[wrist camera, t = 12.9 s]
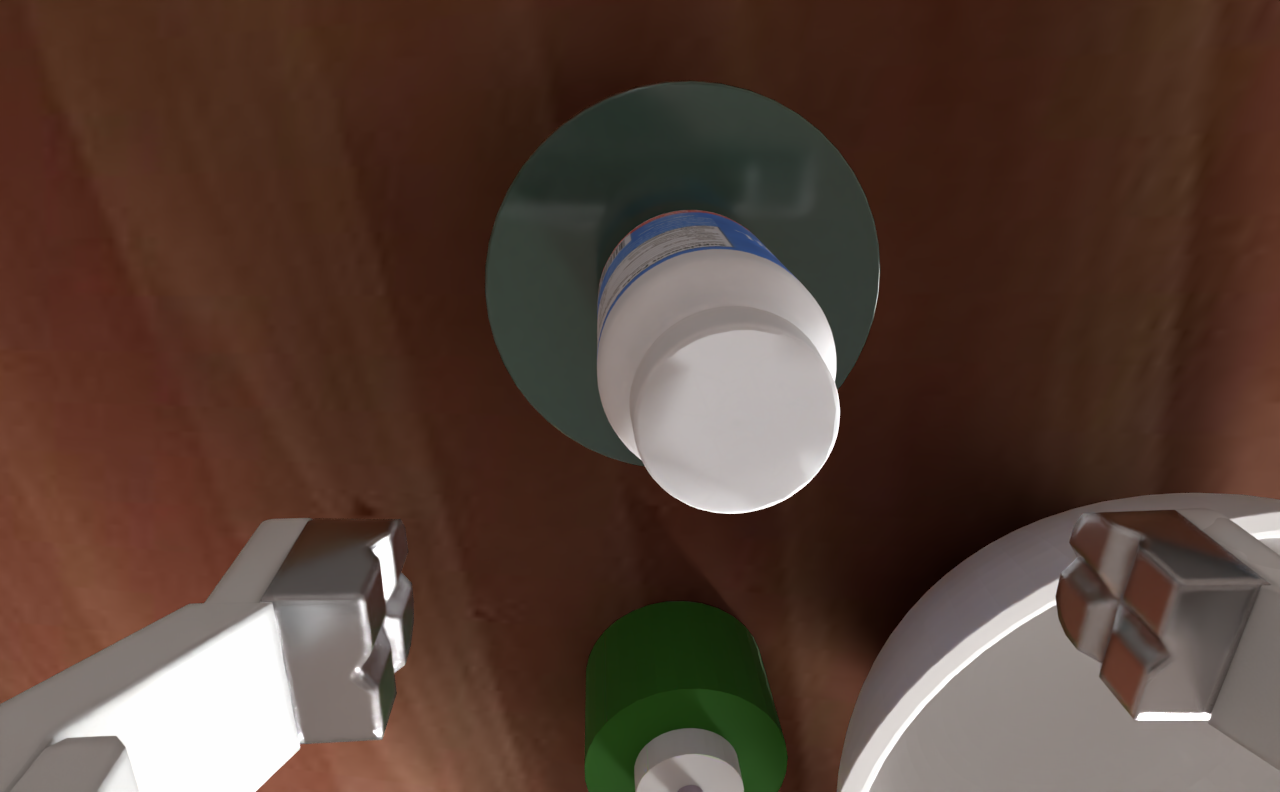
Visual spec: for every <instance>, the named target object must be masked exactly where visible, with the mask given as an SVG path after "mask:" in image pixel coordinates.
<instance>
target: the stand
mask: <svg viewBox="0 0 1280 792" xmlns="http://www.w3.org/2000/svg"><path fill="white" fill-rule="evenodd" d="M680 210H701V211H708V212H713V213H717V214H720V215H722V216H725V217H727V218H729V219H731V220H733V221H735V222H737V223H738V224H740V225H742V226H743V227H745V228H746V229H747V230H749V231H750V232H751V233H752V234H753V235H755V236H756V237H757V238H758V239H759V240H760V241H761V243H762V244H763V245H764V246H765V247H766V248H767V249H768V250H769V251H770V252H771V253H772V254H773V255H774V256H775V257H776V258H777V259H778V260H779V261H780V262H781V263H782V264H783V265H784V266H785V267H786V268H787V269H788V270H789V271H790V272H791V273H792V274H793V275H794V276H795V277H796V278H797V279H798V280H799V281H800V282H801V284H802V285H803V286H804V287H805V288H806V289H807V290H808V291H809V292H810V294H811V295H812V296H813V298H814V299H815V300H816V302H817V303H818V304H819V306H820V307H821V309H822V311H823V313H824V315H825V316H826V319H827V321H828V323H829V326H830V329H831V332H832V335H833V339H834V344H835V350H836V378H835V384H836V388H837V390H838V389H839V388H840V387H841V385H842V384H843V382H844V381H845V379H846V378H847V376H848V375H849V373H850V371H851V370H852V368H853V367H854V365H855V363H856V361H857V359H858V357H859V355H860V353H861V351H862V349H863V347H864V345H865V343H866V340H867V337H868V334H869V331H870V328H871V325H872V322H873V319H874V315H875V310H876V305H877V300H878V295H879V282H880V254H879V242H878V237H877V232H876V227H875V222H874V218H873V215H872V212H871V209H870V206H869V203H868V201H867V198H866V195H865V193H864V191H863V189H862V187H861V185H860V183H859V181H858V179H857V177H856V175H855V173H854V171H853V170H852V169H851V167H850V166H849V164H848V163H847V162H846V160H845V159H844V157H843V156H842V154H841V153H840V152H839V150H838V149H837V148H836V147H835V146H834V145H833V144H832V143H831V142H830V141H829V140H828V139H827V138H826V136H825V135H824V134H823V133H822V132H821V131H820V130H819V129H817V128H816V127H815V126H813V125H812V124H811V123H810V122H808V121H807V120H806V119H805V118H803V117H802V116H801V115H799V114H798V113H796V112H795V111H793V110H791V109H789V108H788V107H786V106H784V105H782V104H781V103H779V102H777V101H775V100H773V99H771V98H768V97H766V96H763V95H761V94H758V93H756V92H753V91H751V90H747V89H743V88H739V87H735V86H731V85H727V84H722V83H716V82H705V81H695V80H681V81H662V82H657V83H651V84H646V85H641V86H636V87H633V88H630V89H627V90H624V91H621V92H618V93H615V94H612V95H609V96H607V97H605V98H603V99H601V100H599V101H597V102H595V103H593V104H591V105H589V106H587V107H585V108H584V109H582V110H581V111H579V112H578V113H577V114H575V115H574V116H572V117H571V118H569V119H568V120H566V121H565V122H563V123H562V124H561V125H560V126H559V127H558V128H557V129H556V130H554V131H553V132H552V133H551V134H550V135H549V136H548V137H547V138H546V139H545V140H544V141H542V143H541V144H540V145H539V146H538V147H537V149H536V150H535V151H534V152H533V153H532V155H531V156H530V157H529V158H528V159H527V161H526V162H525V163H524V165H523V166H522V168H521V169H520V171H519V172H518V174H517V176H516V177H515V179H514V180H513V182H512V184H511V185H510V187H509V188H508V190H507V192H506V195H505V197H504V199H503V201H502V204H501V206H500V208H499V210H498V212H497V215H496V218H495V222H494V225H493V228H492V232H491V235H490V239H489V244H488V251H487V257H486V264H485V297H486V305H487V314H488V319H489V323H490V327H491V331H492V335H493V338H494V342H495V344H496V347H497V349H498V352H499V354H500V356H501V359H502V361H503V364H504V365H505V367H506V369H507V371H508V372H509V374H510V376H511V378H512V379H513V381H514V383H515V385H516V386H517V387H518V389H519V390H520V391H521V393H522V394H523V395H524V396H525V398H526V399H527V400H528V402H529V403H530V404H531V405H532V406H533V407H534V408H535V409H536V410H537V411H538V412H539V413H540V414H541V415H542V416H543V417H544V418H545V419H546V420H547V421H548V422H549V423H550V424H552V425H553V426H554V427H555V428H557V429H558V430H559V431H561V432H562V433H563V434H564V435H566V436H567V437H569V438H571V439H572V440H574V441H576V442H578V443H579V444H581V445H583V446H584V447H586V448H588V449H590V450H593V451H595V452H597V453H599V454H602V455H604V456H606V457H609V458H612V459H616V460H619V461H622V462H626V463H629V464H633V465H639V466H644V464H643V462H642V460H640V459H639V458H638V457H637V456H636V455H635V454H634V453H632V452H631V451H630V450H629V449H628V448H627V447H626V445H625V444H624V443H623V442H622V441H621V439H620V438H619V437H618V435H617V434H616V432H615V431H614V429H613V428H612V426H611V424H610V422H609V421H608V418H607V416H606V414H605V411H604V409H603V406H602V402H601V398H600V394H599V389H598V381H597V300H598V290H599V283H600V279H601V275H602V272H603V269H604V267H605V265H606V263H607V261H608V259H609V257H610V255H611V254H612V252H613V250H614V249H615V248H616V246H617V245H618V244H619V242H620V241H621V240H622V239H623V238H624V237H625V236H626V235H627V234H628V233H629V232H630V231H632V230H633V229H634V228H636V227H637V226H638V225H640V224H642V223H643V222H645V221H647V220H649V219H651V218H653V217H656V216H658V215H661V214H665V213H669V212H673V211H680Z"/></svg>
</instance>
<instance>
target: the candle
mask: <svg viewBox="0 0 1280 792" xmlns="http://www.w3.org/2000/svg"><path fill="white" fill-rule="evenodd" d="M787 759H788V756H787V750H786V744H785V740H784V736H783V733H782V729H781V725H780V722H779V718H778V715H777V711H776V708H775V704H774V700H773V697H772V693H771V690H770V686H769V683H768V679H767V675H766V672H765V668H764V665H763V661H762V658H761V654H760V650H759V648H758V646H757V644H756V642H755V639H754V637H753V636H752V635H751V633H750V632H749V631H748V629H747V628H746V627H745V626H744V625H743V624H742V623H741V622H739V621H738V620H737V619H736V618H735V617H733V616H732V615H730V614H728V613H726V612H724V611H722V610H721V609H719V608H716V607H713V606H709V605H706V604H703V603H697V602H689V601H667V602H662V603H657V604H651V605H648V606H645V607H642V608H640V609H637V610H634V611H632V612H630V613H628V614H627V615H625V616H623V617H622V618H620V619H618V620H617V621H616V622H614V623H613V624H612V625H611V626H610V627H609V628H608V629H606V630H605V631H604V633H603V634H602V635H601V636H600V638H599V639H598V640H597V642H596V643H595V645H594V647H593V649H592V651H591V653H590V655H589V659H588V663H587V668H586V707H585V782H586V785H587V788H588V791H589V792H778V791H779V789H780V787H781V785H782V783H783V780H784V777H785V774H786V770H787Z"/></svg>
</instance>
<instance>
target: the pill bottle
mask: <svg viewBox="0 0 1280 792" xmlns="http://www.w3.org/2000/svg"><path fill="white" fill-rule="evenodd" d="M835 378H836V350H835V344H834V339H833V335H832V332H831V329H830V326H829V323H828V321H827V319H826V316H825V315H824V313H823V311H822V309H821V307H820V306H819V304H818V303H817V302H816V300H815V299H814V298H813V296H812V295H811V294H810V292H809V291H808V290H807V289H806V288H805V287H804V286H803V285H802V284H801V282H800V281H799V280H798V279H797V278H796V277H795V276H794V275H793V274H792V273H791V272H790V271H789V270H788V269H787V268H786V267H785V266H784V265H783V264H782V263H781V262H780V261H779V260H778V259H777V258H776V257H775V256H774V255H773V254H772V253H771V252H770V251H769V250H768V249H767V248H766V247H765V246H764V245H763V244H762V243H761V241H760V240H759V239H758V238H757V237H756V236H755V235H753V234H752V233H751V232H750V231H749V230H747V229H746V228H745V227H743V226H742V225H740V224H738V223H737V222H735V221H733V220H731V219H729V218H727V217H725V216H722V215H720V214H717V213H713V212H708V211H701V210H680V211H673V212H669V213H665V214H661V215H658V216H656V217H653V218H651V219H649V220H647V221H645V222H643V223H642V224H640V225H638V226H637V227H636V228H634V229H633V230H632V231H630V232H629V233H628V234H627V235H626V236H625V237H624V238H623V239H622V240H621V241H620V242H619V244H618V245H617V246H616V248H615V249H614V250H613V252H612V254H611V255H610V257H609V259H608V261H607V263H606V265H605V267H604V269H603V272H602V275H601V279H600V283H599V290H598V300H597V381H598V389H599V394H600V398H601V402H602V406H603V409H604V411H605V414H606V416H607V418H608V421H609V422H610V424H611V426H612V428H613V429H614V431H615V432H616V434H617V435H618V437H619V438H620V439H621V441H622V442H623V443H624V444H625V445H626V447H627V448H628V449H629V450H630V451H631V452H632V453H634V454H635V455H636V456H637V457H638V458H639V459H640V460H642V462H643V464H644V466H645V467H646V469H647V471H648V472H649V474H650V475H651V476H652V478H653V479H654V480H655V481H656V482H657V483H658V484H659V485H660V486H661V487H662V488H663V489H664V490H665V491H666V492H667V493H669V494H670V495H671V496H673V497H674V498H676V499H678V500H680V501H682V502H683V503H685V504H687V505H689V506H691V507H694V508H697V509H701V510H705V511H709V512H714V513H725V514H737V513H747V512H752V511H757V510H760V509H764V508H768V507H771V506H773V505H775V504H777V503H780V502H782V501H784V500H786V499H787V498H789V497H791V496H792V495H794V494H795V493H796V492H798V491H799V490H801V489H802V488H803V487H804V486H805V485H807V484H808V483H809V482H810V481H811V480H812V479H813V478H814V476H815V475H816V474H817V473H818V472H819V471H820V469H821V468H822V466H823V465H824V463H825V462H826V460H827V459H828V457H829V455H830V453H831V451H832V449H833V446H834V444H835V441H836V438H837V435H838V429H839V422H840V404H839V396H838V391H837V388H836V384H835Z"/></svg>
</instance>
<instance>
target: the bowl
mask: <svg viewBox="0 0 1280 792" xmlns="http://www.w3.org/2000/svg"><path fill="white" fill-rule="evenodd" d="M1189 508H1207V509H1211V510H1215V511H1219V512H1221V513H1222V514H1223V515H1225V516H1226V517H1227V518H1229V519H1230V520H1232V521H1233V522H1234V523H1236V524H1237V525H1238V526H1240V527H1241V528H1243V529H1244V530H1245V531H1247V532H1248V533H1249V534H1251V535H1252V536H1254V537H1255V538H1256V539H1258V540H1259V541H1260V542H1262V543H1263V544H1265V545H1266V546H1267V547H1269V548H1270V549H1271V550H1273V551H1274V552H1276V553H1277V554H1278V555H1280V500H1278V499H1271V498H1264V497H1256V496H1248V495H1236V494H1214V493H1173V494H1156V495H1143V496H1136V497H1129V498H1123V499H1116V500H1110V501H1103V502H1099V503H1095V504H1091V505H1087V506H1083V507H1079V508H1075V509H1071V510H1068V511H1065V512H1062V513H1059V514H1056V515H1053V516H1050V517H1047V518H1044V519H1041V520H1039V521H1036V522H1034V523H1031V524H1029V525H1027V526H1024V527H1022V528H1020V529H1017V530H1015V531H1013V532H1011V533H1009V534H1007V535H1005V536H1004V537H1002V538H1000V539H998V540H996V541H994V542H992V543H990V544H989V545H987V546H986V547H984V548H982V549H981V550H979V551H978V552H976V553H974V554H973V555H971V556H970V557H968V558H967V559H965V560H964V561H963V562H961V563H960V564H959V565H957V566H956V567H955V568H954V569H952V570H951V571H950V572H948V573H947V574H946V575H945V576H944V577H942V578H941V579H940V580H939V581H938V582H937V583H936V584H935V585H933V586H932V587H931V588H930V589H929V590H928V591H927V592H926V593H925V594H924V595H923V596H922V597H921V598H920V599H919V601H918V602H917V603H916V604H915V605H914V606H913V607H912V608H911V609H910V610H909V612H908V613H907V614H906V615H905V617H904V618H903V619H902V620H901V622H900V623H899V624H898V626H897V627H896V628H895V629H894V631H893V632H892V633H891V635H890V636H889V638H888V640H887V641H886V643H885V644H884V646H883V648H882V649H881V651H880V652H879V654H878V656H877V658H876V659H875V661H874V663H873V665H872V667H871V669H870V671H869V673H868V675H867V677H866V679H865V682H864V684H863V686H862V688H861V691H860V693H859V696H858V698H857V701H856V704H855V707H854V710H853V713H852V716H851V719H850V722H849V725H848V729H847V733H846V737H845V742H844V746H843V751H842V756H841V761H840V767H839V772H838V782H837V792H1280V771H1279V770H1277V769H1276V768H1274V767H1273V766H1271V765H1270V764H1268V763H1267V762H1265V761H1264V760H1262V759H1261V758H1259V757H1258V756H1256V755H1255V754H1253V753H1252V752H1250V751H1249V750H1247V749H1246V748H1244V747H1243V746H1241V745H1240V744H1238V743H1237V742H1235V741H1234V740H1232V739H1231V738H1229V737H1227V736H1226V735H1224V734H1223V733H1221V732H1220V731H1218V730H1217V729H1215V728H1214V727H1212V726H1211V725H1209V724H1208V720H1134V719H1133V718H1132V717H1131V716H1130V714H1129V713H1128V712H1127V711H1126V709H1125V708H1124V707H1123V706H1122V705H1121V703H1120V702H1119V701H1118V700H1117V698H1116V697H1115V696H1114V695H1113V694H1112V692H1111V691H1110V690H1109V689H1108V687H1107V686H1106V685H1105V684H1104V683H1103V681H1102V680H1101V679H1100V678H1099V672H1100V664H1101V663H1099V662H1098V661H1096V660H1094V659H1092V658H1091V657H1089V656H1087V655H1085V654H1083V653H1082V652H1080V651H1078V650H1077V649H1076V648H1075V647H1074V645H1073V644H1072V643H1071V641H1070V640H1069V639H1068V638H1067V636H1066V635H1065V633H1064V631H1063V628H1062V626H1061V624H1060V621H1059V619H1058V612H1057V605H1056V597H1055V596H1056V592H1057V587H1058V583H1059V578H1060V574H1061V572H1062V571H1064V570H1065V569H1066V568H1067V567H1068V566H1069V565H1070V564H1071V563H1072V562H1073V561H1074V560H1075V559H1076V558H1077V557H1076V555H1075V553H1074V551H1073V549H1072V547H1071V545H1070V544H1069V541H1070V537H1071V534H1072V531H1073V527H1074V524H1075V523H1076V522H1077V520H1078V519H1079V518H1080V516H1081V515H1082V514H1083V513H1095V512H1122V511H1149V510H1169V509H1189Z"/></svg>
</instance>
